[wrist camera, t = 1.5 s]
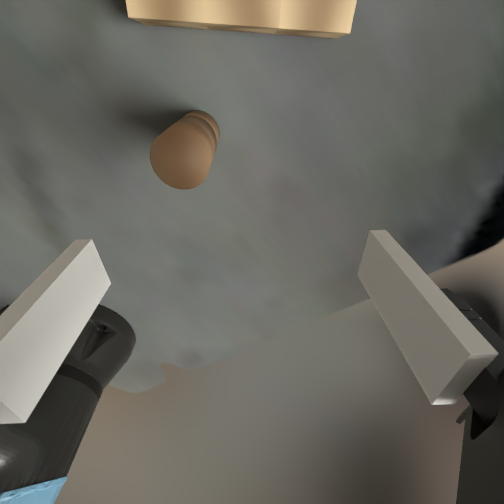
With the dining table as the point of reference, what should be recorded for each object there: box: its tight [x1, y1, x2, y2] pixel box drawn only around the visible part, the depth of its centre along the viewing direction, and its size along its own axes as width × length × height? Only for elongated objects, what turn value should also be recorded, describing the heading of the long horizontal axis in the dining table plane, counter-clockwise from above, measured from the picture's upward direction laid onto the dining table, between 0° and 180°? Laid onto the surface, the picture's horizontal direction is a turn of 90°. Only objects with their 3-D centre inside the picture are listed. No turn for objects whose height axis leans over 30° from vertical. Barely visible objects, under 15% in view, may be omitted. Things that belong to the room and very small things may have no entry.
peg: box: [150, 111, 220, 189], centre depth 22 cm, size 4×4×10 cm
